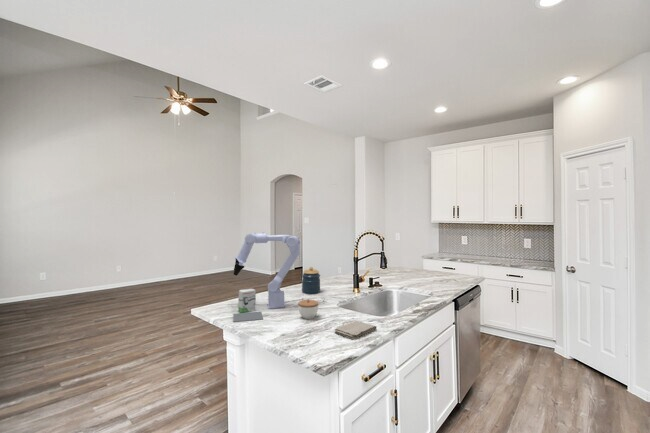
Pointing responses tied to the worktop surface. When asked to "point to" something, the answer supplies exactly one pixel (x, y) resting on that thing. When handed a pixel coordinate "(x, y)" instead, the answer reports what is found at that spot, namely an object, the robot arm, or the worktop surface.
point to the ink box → (247, 300)
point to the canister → (311, 281)
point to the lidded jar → (308, 308)
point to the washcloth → (355, 330)
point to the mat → (247, 316)
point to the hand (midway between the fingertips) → (235, 272)
